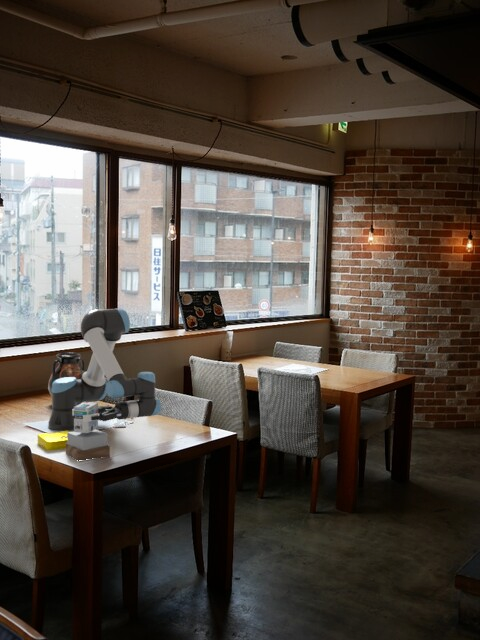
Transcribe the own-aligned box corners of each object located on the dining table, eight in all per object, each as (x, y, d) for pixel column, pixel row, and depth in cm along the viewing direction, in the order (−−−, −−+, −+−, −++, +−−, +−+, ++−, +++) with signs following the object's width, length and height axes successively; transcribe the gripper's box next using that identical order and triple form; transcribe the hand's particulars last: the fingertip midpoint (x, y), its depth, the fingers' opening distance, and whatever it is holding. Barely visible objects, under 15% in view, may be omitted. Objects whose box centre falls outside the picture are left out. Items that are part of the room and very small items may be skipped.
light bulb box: (88, 433, 297) (88, 407, 296) (73, 432, 299) (73, 406, 298) (98, 427, 308) (98, 402, 307) (83, 426, 309) (83, 401, 308)
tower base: (65, 454, 307) (65, 442, 306) (96, 449, 315) (96, 438, 314) (77, 463, 295) (77, 451, 295) (109, 458, 303) (109, 446, 303)
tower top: (67, 444, 304) (67, 432, 304) (91, 439, 313) (91, 427, 312) (83, 450, 296) (83, 438, 295) (107, 445, 304) (107, 433, 304)
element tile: (68, 439, 330) (68, 429, 329) (80, 447, 317) (80, 436, 317) (36, 443, 322) (36, 433, 321) (47, 452, 309) (47, 441, 309)
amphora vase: (76, 398, 413) (76, 350, 410) (95, 405, 397) (96, 355, 394) (41, 403, 399) (41, 353, 396) (59, 410, 383) (59, 358, 380)
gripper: (137, 424, 303) (88, 430, 291) (114, 412, 323) (67, 418, 311) (137, 407, 302) (88, 412, 290) (115, 396, 322) (67, 401, 310)
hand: (77, 415), depth 301 cm, fingers closed on light bulb box, 12 cm apart
